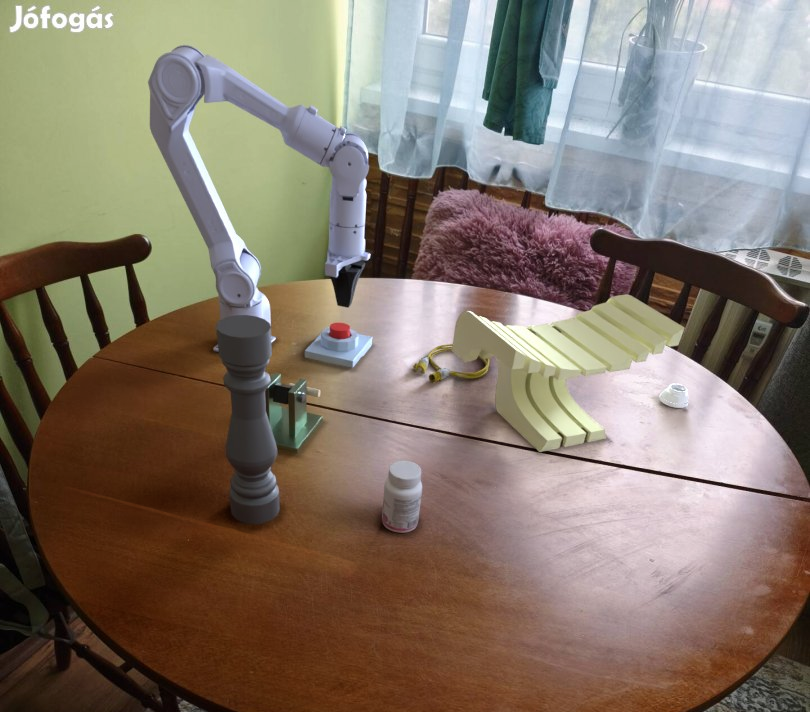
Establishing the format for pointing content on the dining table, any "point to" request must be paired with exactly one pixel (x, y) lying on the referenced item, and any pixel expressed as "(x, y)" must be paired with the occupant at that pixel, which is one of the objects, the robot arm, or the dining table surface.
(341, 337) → the button
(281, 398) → the switch lever
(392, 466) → the pill bottle
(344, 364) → the button box
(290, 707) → the dining table surface
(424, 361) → the extension cord
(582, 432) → the slatted curved stool
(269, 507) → the candle holder
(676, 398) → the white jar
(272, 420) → the switch bracket
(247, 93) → the robot arm
